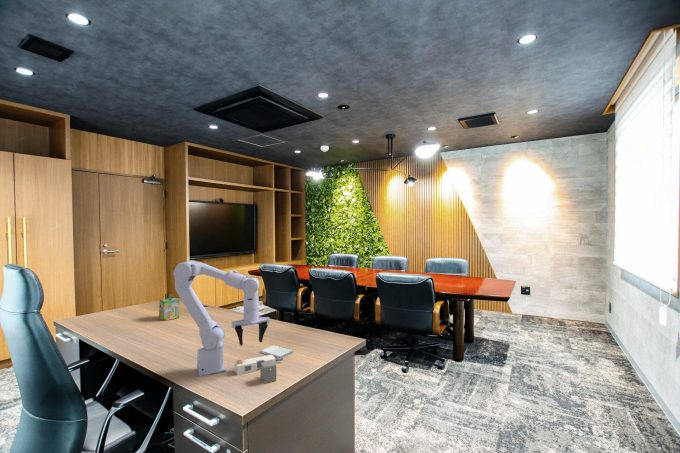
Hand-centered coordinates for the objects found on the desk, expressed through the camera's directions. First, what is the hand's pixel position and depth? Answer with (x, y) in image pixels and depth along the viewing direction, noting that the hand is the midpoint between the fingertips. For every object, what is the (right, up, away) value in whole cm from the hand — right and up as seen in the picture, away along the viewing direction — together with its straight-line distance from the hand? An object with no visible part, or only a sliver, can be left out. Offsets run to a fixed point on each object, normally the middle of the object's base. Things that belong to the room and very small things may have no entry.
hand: (250, 343), depth 129 cm
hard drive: (+7, -11, +16) cm, 21 cm away
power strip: (+4, -10, +1) cm, 11 cm away
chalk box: (-70, -11, +72) cm, 101 cm away
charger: (+9, -10, -10) cm, 17 cm away
